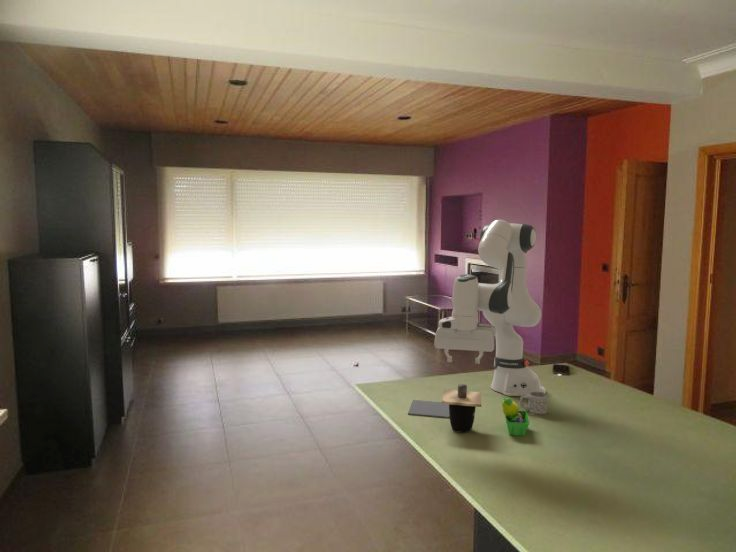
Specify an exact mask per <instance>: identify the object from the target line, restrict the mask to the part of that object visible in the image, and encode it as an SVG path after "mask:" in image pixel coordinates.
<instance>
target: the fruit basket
mask: <svg viewBox="0 0 736 552" xmlns="http://www.w3.org/2000/svg"><path fill="white" fill-rule="evenodd" d="M501 402H502V403H501V405H502V412H503V415H504V416H505V423H506V426H507V427H506V428H507V430H508V435H509V436H511V435H512V436H521V437H525V436H526V433H527V430H528V427H529V426H530V419H529V414H528V412H527V411H525V410H520V405H519V404H517V403H516V402H514V401H513V400H512V399H511V398H510V397H504V398H503V400H502V401H501Z"/></svg>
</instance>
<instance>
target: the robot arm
mask: <svg viewBox="0 0 736 552" xmlns="http://www.w3.org/2000/svg"><path fill="white" fill-rule="evenodd" d="M479 240H480V242H479V244H478V249H477V251H478V256H479V258H480V260H482V262H484V264H485V265H486V266H489V267H492V268H495V269H497V270H498V282H497V283H484V282H479V279H478V276H476V275H474V274H467V273H466V274H465V273H464V274H461V275H458V276H456V277H455V278H454V281H453V286H452V288H453V289H452V298H451V301H452V306H453V307H452V311H451V316H448V317H442V318H440V320H439V321H438V327H437V329H436V332H435V335H434V341H433V343H434V344H433V347H434V348H435V349H439V350H442V349H443V350H444V352H443V353H444V354H445V356H446V357H447V358H446V361H447V363H452V361H453V356H452V355H450V354H449V350H457V351H470V352H471V351H472V352H473V351H474V352H478V354H479V355H478V357H475V364H476V365H477V364H478V365H480V363H481V361H480V360H481V359H482V357H483V356H484V352H487V353H488V352H489V353H492V352H493V351H494V350H495V354H494V359H493V360H494V361H493V367H494V368H493V369H494V373H493V377H492V382H491V384H490V389H492V391H495V392H498V393H501V394H504V395H505V396H511V397H514V396H515V397H521V396H526V395H529V392H543V393H545V394H547V391H546V388H545V386H542V385H541V381H540V380H541V379H540V378H539V377H540V376H538V375H537V373H536V372H535V371H533V370H532V369H531V368H529V365H530V362H529V360H528V359H526V357H523V356H524V355H523V354H524V350H523V349H524V340H523V337H522V336H521V335H520V334H518V333H517V332H516V331H515V329H514V326H516V327H522V328H531V327H535V326H537V325H538V324H539V323H540V322H541V318H542V310H541V307H540V306H539V305H538V303H536V302H535V300H534V299H533V297H531V295H530V292H529V290H528V285H527V266H528V265H527V253H528V251H531V249H533V248H534V247H535V244H536V241H537V234H536V229H535V228H534V227H533V226H532V225H531V224H526V223H523V224H521V223H511V222H508V221H507V220H505V219H495V220H494V221H491V222H490V223H489V224H486V225H484V226H483V227H482V229H481V231H480V235H479ZM479 311H481V312H482V314H483V317H484V318H485V319H486V321H488V322H489V323H479Z"/></svg>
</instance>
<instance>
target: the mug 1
mask: <svg viewBox="0 0 736 552" xmlns="http://www.w3.org/2000/svg"><path fill="white" fill-rule="evenodd" d="M476 408H477V407H475V406H464V405H452V404H449V422H450V428H451V429H452V430H453V431H454V432H457V433H469V432H470V431H471V430H472V428H473V425H474V423H475V416H476Z"/></svg>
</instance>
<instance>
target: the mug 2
mask: <svg viewBox="0 0 736 552" xmlns="http://www.w3.org/2000/svg"><path fill="white" fill-rule="evenodd" d="M519 397H520V398H519V408H521V409H524V410H527V411H528V412H529V413H531V414H534V415H546V414H547V410H548V394H547V393H546V394H545V393H543V392H529V395H526V396H519ZM524 399H527V400H528V402H527V403H528V405H523V401H524Z"/></svg>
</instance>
